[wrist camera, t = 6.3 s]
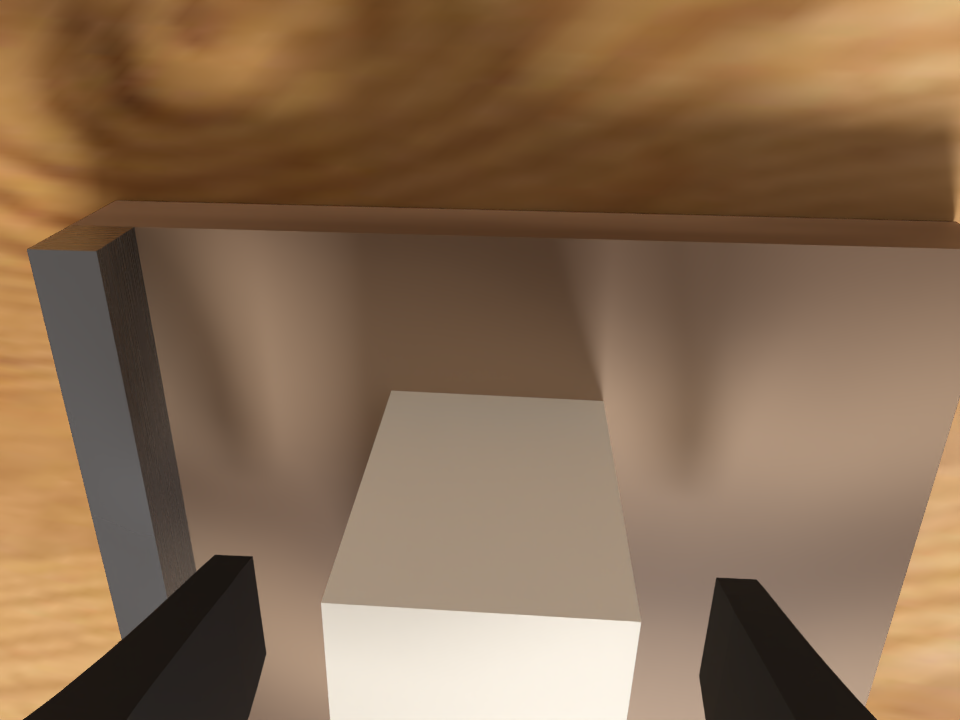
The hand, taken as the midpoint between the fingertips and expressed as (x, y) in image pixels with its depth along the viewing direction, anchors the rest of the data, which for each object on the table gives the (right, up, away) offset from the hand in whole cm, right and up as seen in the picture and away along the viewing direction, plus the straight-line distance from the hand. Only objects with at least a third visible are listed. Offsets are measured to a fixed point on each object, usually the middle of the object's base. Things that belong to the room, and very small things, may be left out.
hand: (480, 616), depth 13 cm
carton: (0, +1, +2) cm, 2 cm away
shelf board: (+1, +2, +3) cm, 4 cm away
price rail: (-6, +1, +2) cm, 6 cm away
